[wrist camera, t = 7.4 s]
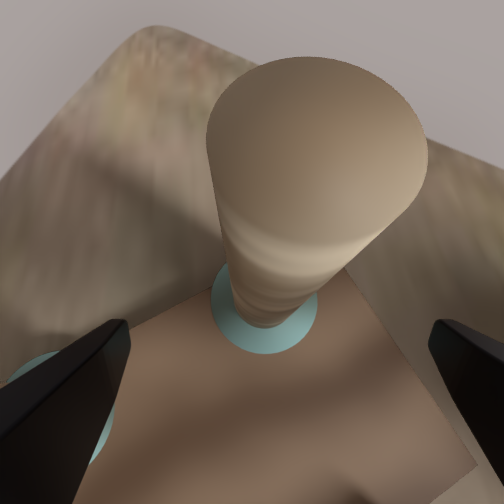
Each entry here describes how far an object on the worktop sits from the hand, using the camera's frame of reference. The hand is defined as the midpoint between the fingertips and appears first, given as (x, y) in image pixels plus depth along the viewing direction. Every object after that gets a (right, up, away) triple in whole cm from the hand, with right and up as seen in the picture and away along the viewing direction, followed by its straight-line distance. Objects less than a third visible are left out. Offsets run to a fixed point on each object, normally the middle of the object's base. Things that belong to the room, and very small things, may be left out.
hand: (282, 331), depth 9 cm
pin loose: (0, 0, +8) cm, 8 cm away
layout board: (-2, -7, +7) cm, 10 cm away
